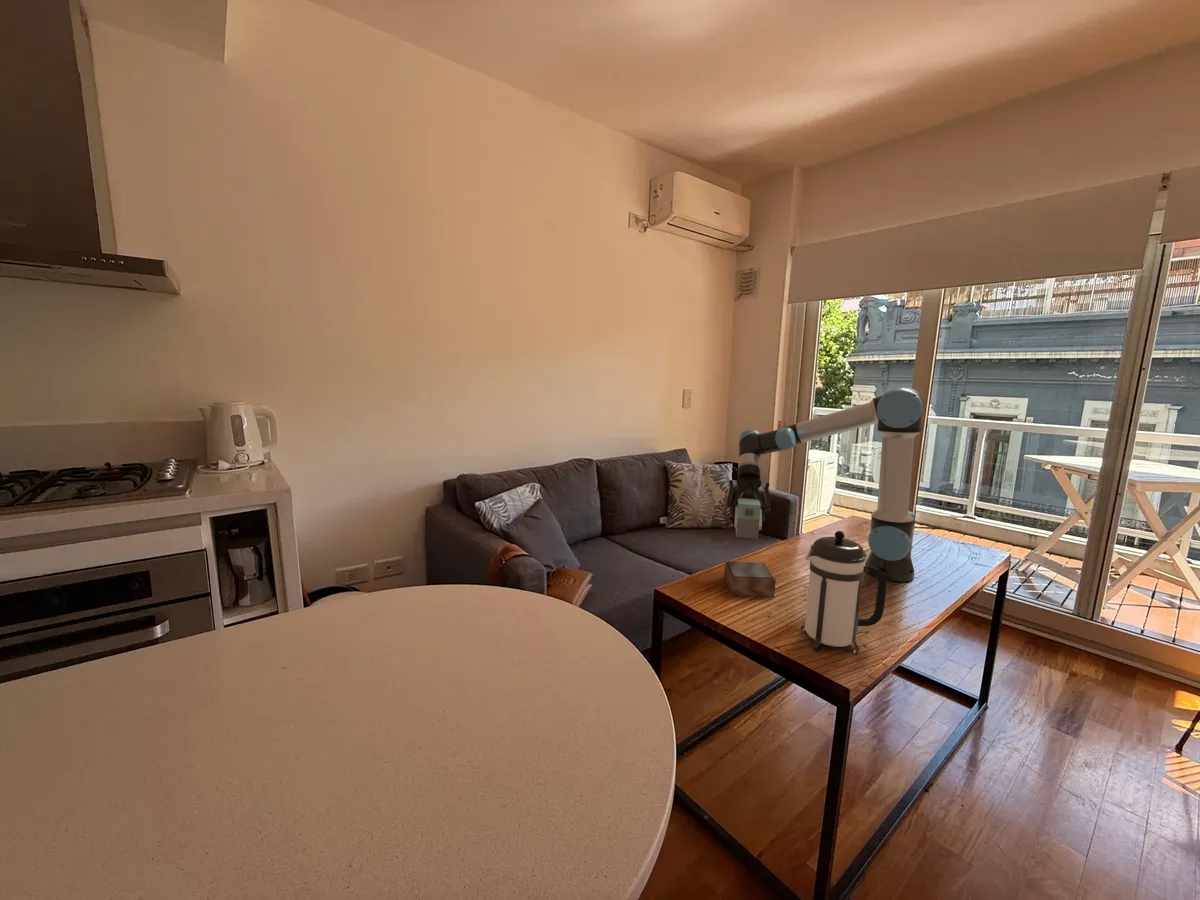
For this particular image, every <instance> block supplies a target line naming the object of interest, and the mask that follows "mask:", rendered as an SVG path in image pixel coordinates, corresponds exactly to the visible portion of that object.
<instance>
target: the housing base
mask: <svg viewBox="0 0 1200 900" xmlns="http://www.w3.org/2000/svg"><path fill="white" fill-rule="evenodd" d="M759 521H760V520H753V519H742V518H737V528H735V537H736V538H745V539H753V540H754V539H756V540H758V539H759V532H760V530H759Z"/></svg>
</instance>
